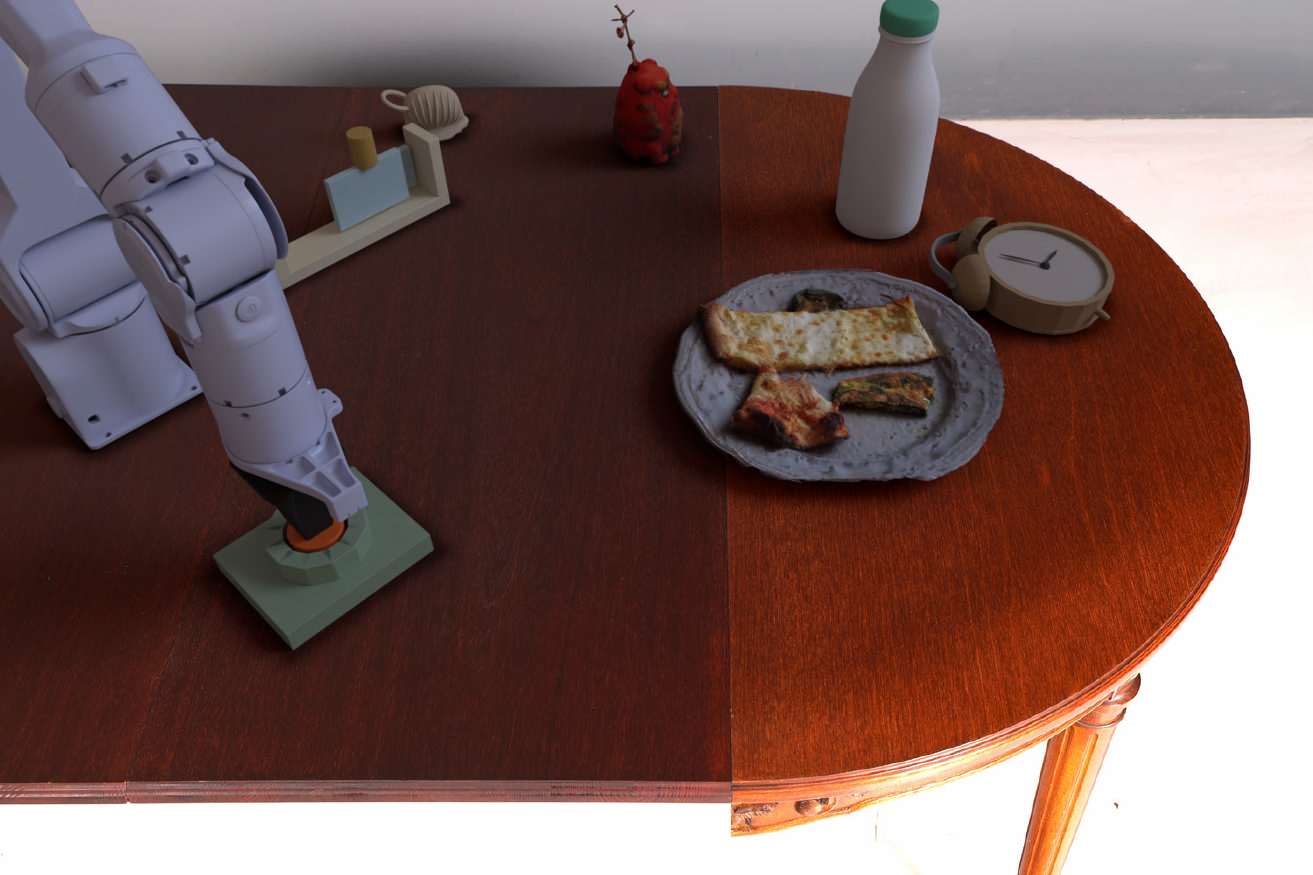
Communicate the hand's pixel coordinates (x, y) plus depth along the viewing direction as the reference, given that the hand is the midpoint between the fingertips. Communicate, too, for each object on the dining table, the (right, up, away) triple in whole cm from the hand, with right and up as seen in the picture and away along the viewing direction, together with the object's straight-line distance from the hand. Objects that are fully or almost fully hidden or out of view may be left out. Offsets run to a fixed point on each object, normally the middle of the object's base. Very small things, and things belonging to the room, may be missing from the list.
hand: (315, 527), depth 68 cm
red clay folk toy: (+21, +35, +39) cm, 56 cm away
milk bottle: (+43, +26, +30) cm, 58 cm away
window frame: (-5, +24, +29) cm, 38 cm away
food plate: (+36, +10, +14) cm, 40 cm away
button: (0, -1, +1) cm, 2 cm away
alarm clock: (+53, +18, +22) cm, 60 cm away
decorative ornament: (-1, +38, +41) cm, 56 cm away
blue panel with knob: (-4, +27, +29) cm, 39 cm away
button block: (0, -2, +3) cm, 3 cm away
